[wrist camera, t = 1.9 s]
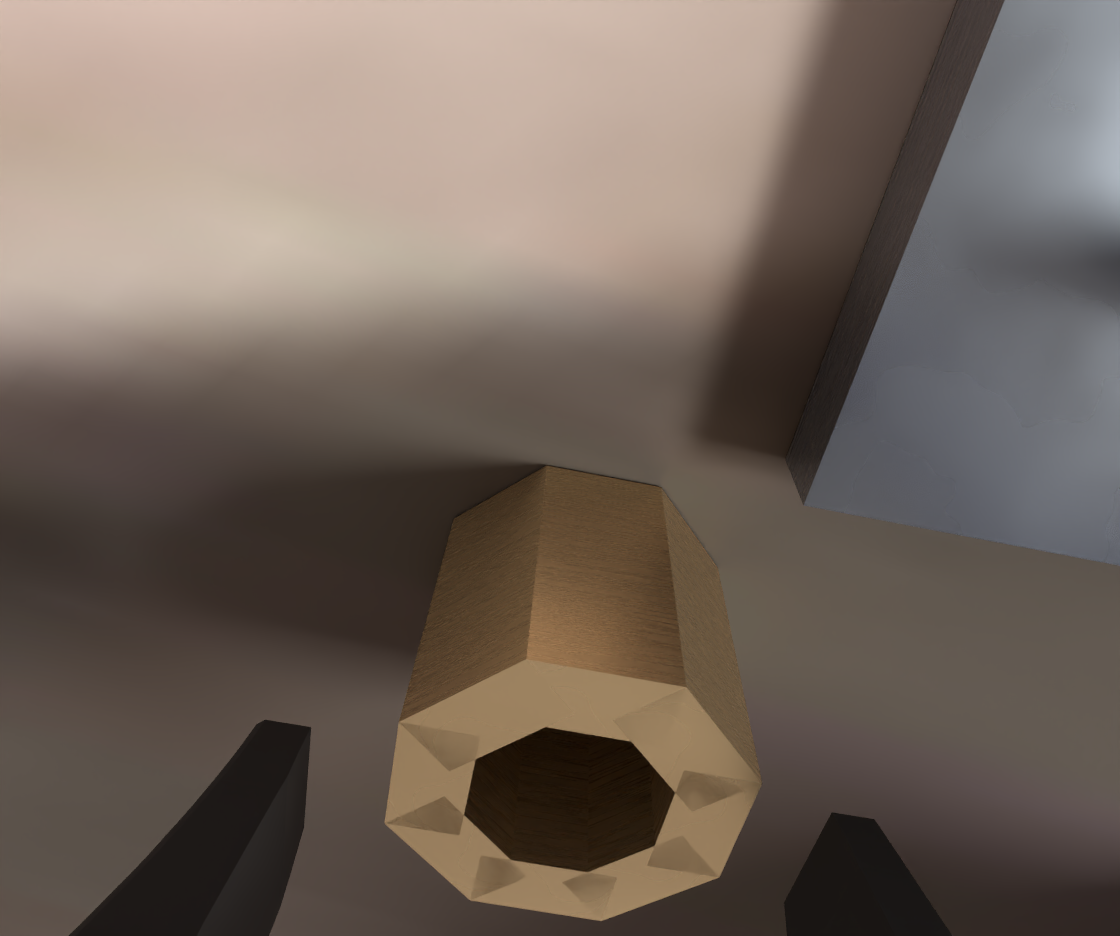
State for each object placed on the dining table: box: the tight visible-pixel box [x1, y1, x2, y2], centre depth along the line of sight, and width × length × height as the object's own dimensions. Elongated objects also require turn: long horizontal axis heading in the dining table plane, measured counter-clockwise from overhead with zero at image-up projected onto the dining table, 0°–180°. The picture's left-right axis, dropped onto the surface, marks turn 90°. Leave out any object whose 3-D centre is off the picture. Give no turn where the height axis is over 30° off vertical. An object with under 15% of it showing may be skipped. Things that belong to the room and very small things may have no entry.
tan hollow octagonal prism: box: [385, 466, 762, 921], centre depth 14 cm, size 5×5×5 cm
